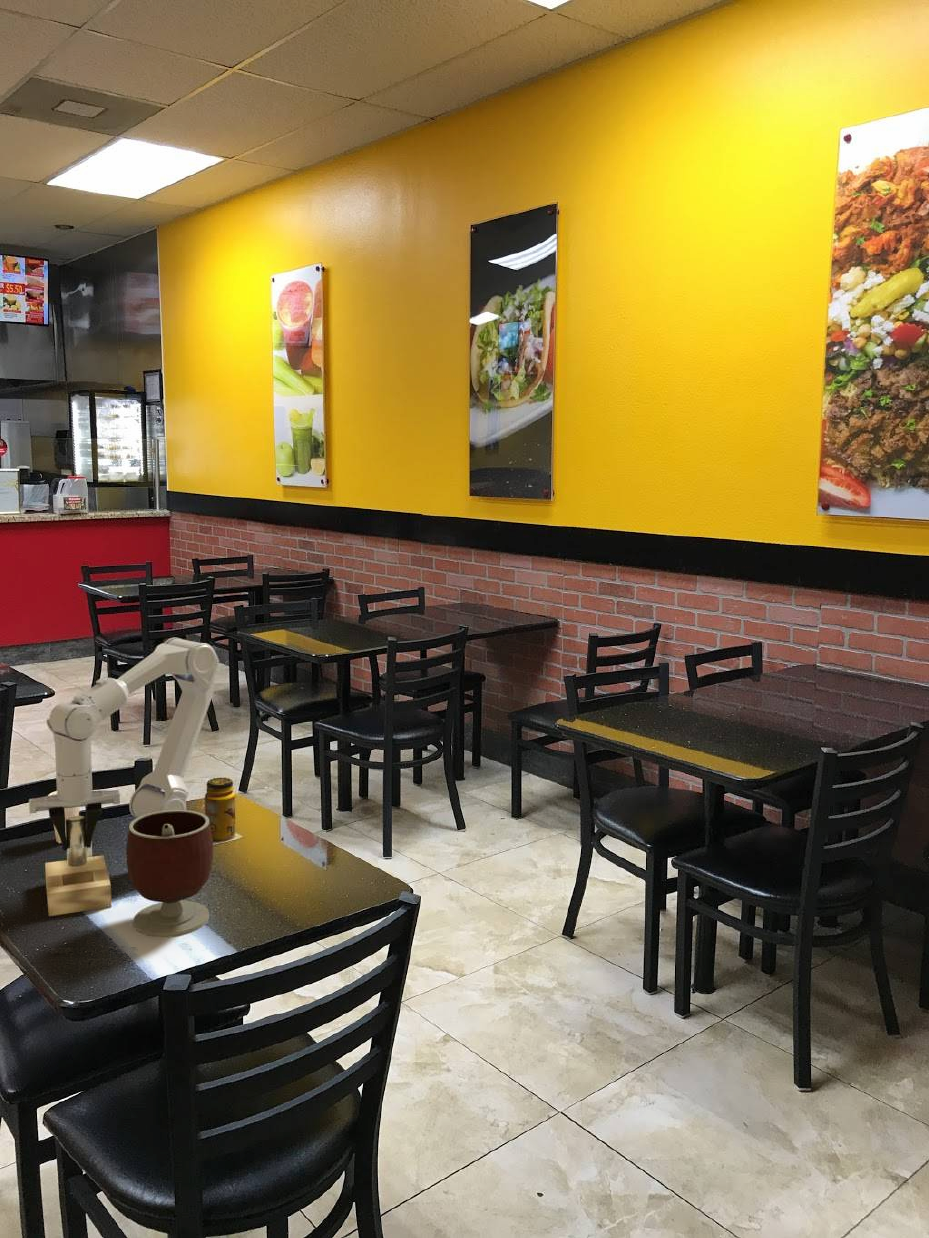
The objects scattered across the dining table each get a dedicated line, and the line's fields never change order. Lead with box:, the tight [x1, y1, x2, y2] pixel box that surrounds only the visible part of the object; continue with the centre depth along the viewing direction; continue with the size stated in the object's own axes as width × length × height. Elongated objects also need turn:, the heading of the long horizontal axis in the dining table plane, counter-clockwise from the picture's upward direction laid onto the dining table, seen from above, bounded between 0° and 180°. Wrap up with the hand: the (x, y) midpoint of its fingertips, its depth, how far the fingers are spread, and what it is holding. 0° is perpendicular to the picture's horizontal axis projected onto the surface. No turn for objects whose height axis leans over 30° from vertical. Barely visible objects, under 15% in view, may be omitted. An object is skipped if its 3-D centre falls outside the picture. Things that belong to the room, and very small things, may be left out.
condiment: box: [204, 777, 244, 846], centre depth 205 cm, size 7×8×12 cm
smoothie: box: [47, 790, 80, 844], centre depth 201 cm, size 6×6×14 cm
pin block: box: [44, 855, 112, 917], centre depth 177 cm, size 10×14×4 cm
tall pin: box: [66, 815, 87, 867], centre depth 174 cm, size 3×3×8 cm
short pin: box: [87, 840, 93, 857], centre depth 193 cm, size 3×3×4 cm
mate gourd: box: [125, 809, 214, 938], centre depth 166 cm, size 16×14×20 cm
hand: (76, 846), depth 174 cm, fingers closed on tall pin, 3 cm apart
